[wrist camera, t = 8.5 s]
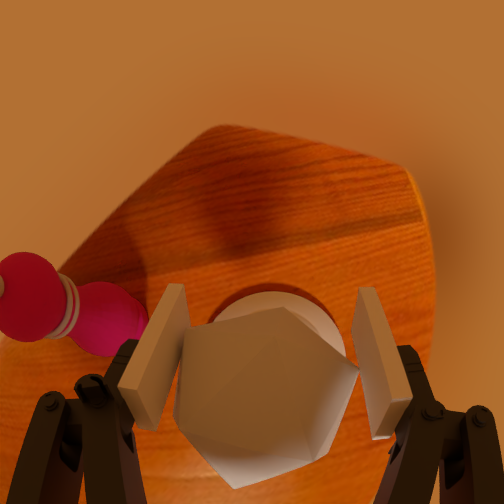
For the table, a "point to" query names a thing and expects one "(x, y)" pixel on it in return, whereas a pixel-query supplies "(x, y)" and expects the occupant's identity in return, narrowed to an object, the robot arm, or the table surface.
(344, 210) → the table surface
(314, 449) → the die
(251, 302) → the plate
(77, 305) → the pepper mill
